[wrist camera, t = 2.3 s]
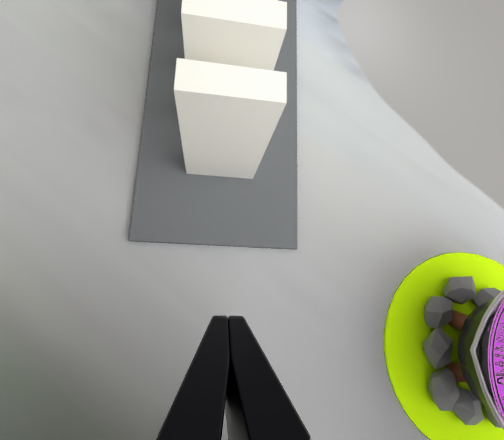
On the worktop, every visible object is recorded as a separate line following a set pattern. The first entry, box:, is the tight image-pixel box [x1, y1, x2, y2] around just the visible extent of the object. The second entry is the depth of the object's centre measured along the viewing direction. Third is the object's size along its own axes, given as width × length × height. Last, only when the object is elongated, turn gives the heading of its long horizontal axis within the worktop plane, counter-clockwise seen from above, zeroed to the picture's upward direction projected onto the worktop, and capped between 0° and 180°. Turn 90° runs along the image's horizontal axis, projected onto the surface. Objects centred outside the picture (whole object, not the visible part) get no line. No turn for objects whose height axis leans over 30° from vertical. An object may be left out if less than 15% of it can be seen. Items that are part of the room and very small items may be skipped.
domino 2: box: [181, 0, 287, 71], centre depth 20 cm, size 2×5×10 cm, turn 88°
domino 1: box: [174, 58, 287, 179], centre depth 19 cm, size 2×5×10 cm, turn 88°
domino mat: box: [129, 0, 297, 249], centre depth 25 cm, size 28×12×1 cm, turn 178°
